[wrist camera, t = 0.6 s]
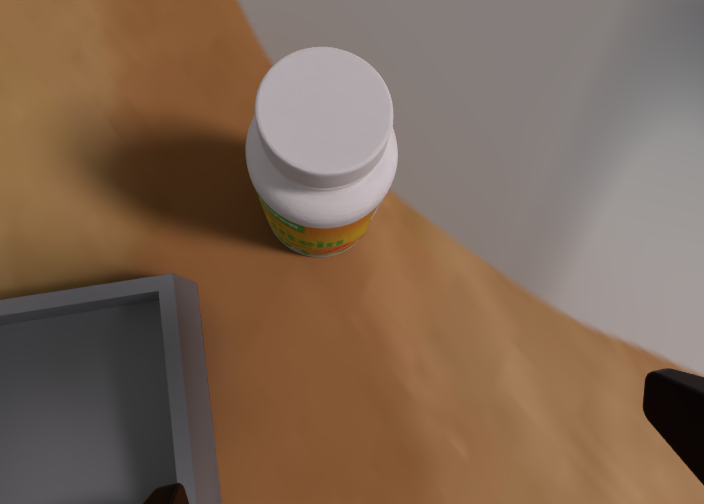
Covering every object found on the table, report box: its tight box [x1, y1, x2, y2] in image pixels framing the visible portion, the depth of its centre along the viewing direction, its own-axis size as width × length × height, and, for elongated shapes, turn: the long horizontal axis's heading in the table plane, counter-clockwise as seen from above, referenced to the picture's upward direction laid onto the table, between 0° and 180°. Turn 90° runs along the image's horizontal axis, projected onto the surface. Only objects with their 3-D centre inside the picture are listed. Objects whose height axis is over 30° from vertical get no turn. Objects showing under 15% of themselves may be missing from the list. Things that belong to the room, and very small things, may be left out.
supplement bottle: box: [245, 47, 398, 257], centre depth 17 cm, size 5×5×10 cm
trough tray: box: [0, 273, 221, 504], centre depth 17 cm, size 10×10×4 cm
